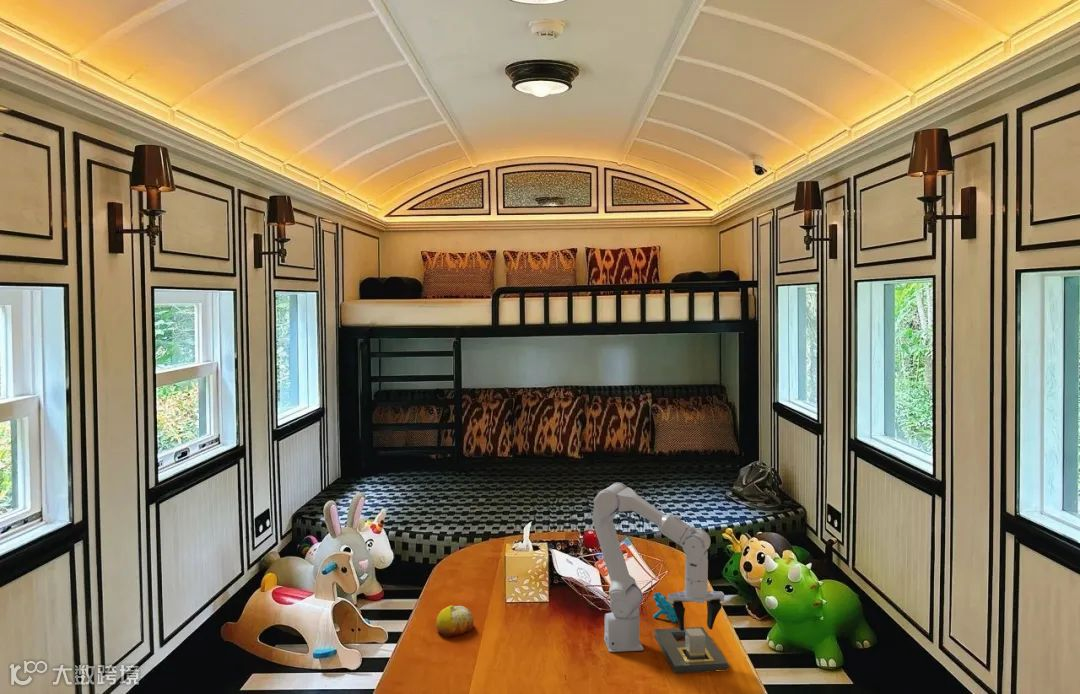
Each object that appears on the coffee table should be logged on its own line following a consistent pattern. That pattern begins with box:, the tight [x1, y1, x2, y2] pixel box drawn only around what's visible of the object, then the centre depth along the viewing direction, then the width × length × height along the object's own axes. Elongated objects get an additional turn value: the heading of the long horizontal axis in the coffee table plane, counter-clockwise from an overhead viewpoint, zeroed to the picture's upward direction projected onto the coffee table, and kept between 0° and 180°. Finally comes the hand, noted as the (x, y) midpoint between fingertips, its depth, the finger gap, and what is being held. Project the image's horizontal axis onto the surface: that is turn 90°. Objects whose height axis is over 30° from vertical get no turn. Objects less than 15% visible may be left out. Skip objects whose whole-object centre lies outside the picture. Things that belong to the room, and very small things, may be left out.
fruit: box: [435, 604, 474, 637], centre depth 202 cm, size 11×10×8 cm
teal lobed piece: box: [652, 591, 678, 624], centre depth 209 cm, size 11×6×10 cm
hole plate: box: [653, 626, 729, 675], centre depth 188 cm, size 14×20×2 cm
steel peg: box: [684, 628, 705, 660], centre depth 183 cm, size 4×4×8 cm
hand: (695, 628), depth 183 cm, fingers open, 7 cm apart
